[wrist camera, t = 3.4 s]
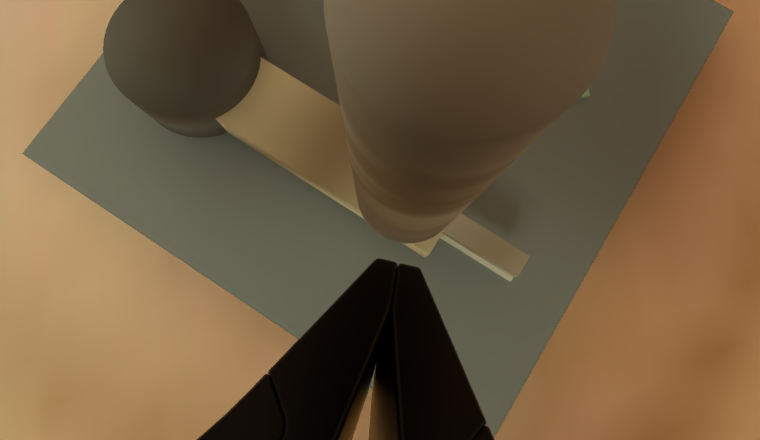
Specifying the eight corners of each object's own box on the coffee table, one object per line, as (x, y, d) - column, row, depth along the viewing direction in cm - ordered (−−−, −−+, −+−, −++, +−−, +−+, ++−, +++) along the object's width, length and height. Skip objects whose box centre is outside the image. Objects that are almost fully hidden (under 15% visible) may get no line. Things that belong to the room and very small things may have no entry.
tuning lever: (111, 93, 15) (-400, -298, 5) (190, -7, 16) (-128, -529, 6) (476, 328, 14) (726, 411, 4) (545, 211, 15) (911, 31, 5)
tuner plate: (473, 450, 15) (482, 463, 14) (43, 162, 16) (17, 151, 15) (713, 27, 18) (737, 8, 16) (323, -191, 19) (320, -223, 18)
